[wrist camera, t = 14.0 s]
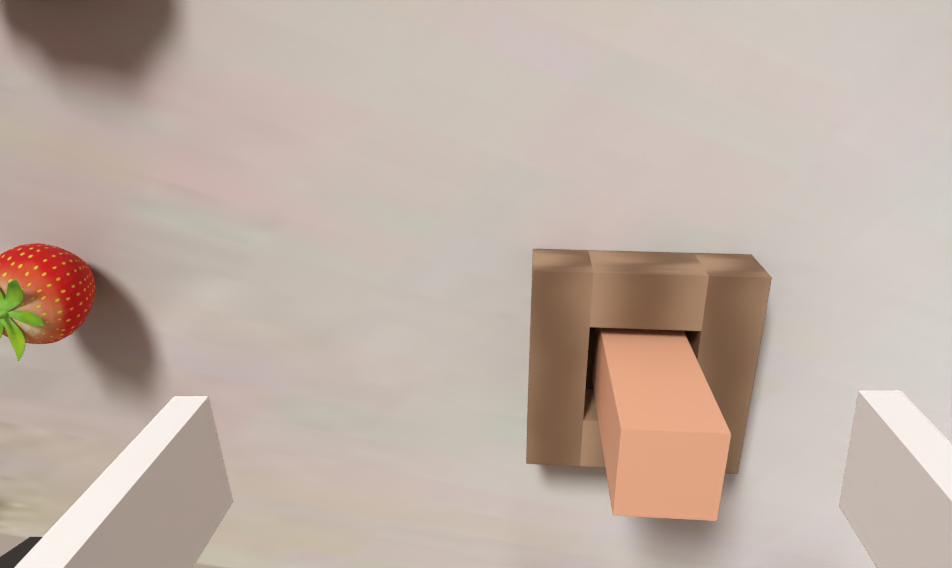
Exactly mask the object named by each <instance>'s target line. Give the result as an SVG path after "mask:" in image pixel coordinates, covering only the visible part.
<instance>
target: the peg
mask: <svg viewBox="0 0 952 568" xmlns="http://www.w3.org/2000/svg"><path fill="white" fill-rule="evenodd" d="M592 383H593V389H594V395H595V402H596V408H597V415H598V421H599V428H600V434H601V441H602V447H603V454H604V460H605V467H606V473H607V480H608V486H609V493H610V499H611V506H612V512H613V515H616V516H635V517H653V518H671V519H690V520H708V521H717V517H718V511H719V505H720V499H721V493H722V487H723V481H724V475H725V469H726V463H727V457H728V451H729V445H730V439H731V433H730V430H729V428H728V426H727V424H726V422H725V420H724V417H723V415H722V413H721V411H720V409H719V407H718V404H717V402H716V400H715V398H714V396H713V394H712V391H711V389H710V387H709V385H708V383H707V381H706V378H705V376H704V374H703V372H702V370H701V368H700V365H699V363H698V361H697V359H696V357H695V355H694V352H693V350H692V348H691V346H690V344H689V342H688V339H687V337H686V335H685V333H684V331H683V330H657V329H628V328H598V327H596V332H595V346H594V359H593V373H592Z"/></svg>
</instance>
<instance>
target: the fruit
mask: <svg viewBox="0 0 952 568" xmlns="http://www.w3.org/2000/svg"><path fill="white" fill-rule="evenodd" d="M94 296H95V279H94V276H93V273H92V271H91V269H90V267H89V266H88V265H87V264H86V263H85V262H84V261H83V260H82V259H81V258H79V257H78V256H76V255H74V254H72V253H71V252H69V251H66V250H64V249H61V248H59V247H55V246H50V245H45V244H37V243H36V244H27V245H20V246H18V247H15V248H12V249H10V250H8V251H6V252H4V253H2V254H1V255H0V338H1V336H2V334H3V335H5V336H7V337H9V339H10V341H11V343H12V346H13V348H14V350H15V352H16V355H17V359H18V361H19V360H20V358H21V356H22V354H23V352H24V349H25V343H31V344H47V343H53V342H57V341H59V340H61V339H63V338H65V337H67V336H69V335H71V334H72V333H73V332H74V331H75V330H76V329H77V328H78V327H79V326H80V325H81V324H82V323H83V322H84V321H85V319H86V317H87V315H88V313H89V311H90V309H91V307H92V304H93V301H94Z"/></svg>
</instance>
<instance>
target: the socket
mask: <svg viewBox="0 0 952 568" xmlns="http://www.w3.org/2000/svg"><path fill="white" fill-rule="evenodd" d="M771 279H772V277H771V276H770V275H769V274H768V273H767V272H766V271H765V269H764V268H763V267H762V266H761V265H760V264H759V263H758V262H757V260H756V259H755V258H754V257H753V256H752V255H747V254H709V253H671V252H633V251H594V250H556V249H533V265H532V295H531V325H530V354H529V384H528V414H527V457H526V464H544V465H565V466H585V467H605V460H604V454H603V447H602V441H601V434H600V428H599V421H598V415H597V408H596V402H595V395H594V389H585V388H586V373H587V359H588V344H589V330H590V327H598V328H628V329H657V330H684V333H685V335H686V337H687V339H688V342H689V344H690V346H691V348H692V350H693V352H694V355H695V357H696V359H697V361H698V363H699V365H700V368H701V370H702V372H703V374H704V376H705V378H706V381H707V383H708V385H709V387H710V389H711V391H712V394H713V396H714V398H715V400H716V402H717V404H718V407H719V409H720V411H721V413H722V415H723V417H724V420H725V422H726V424H727V426H728V428H729V430H730V433H731V439H730V445H729V451H728V457H727V463H726V469H725V473H727V474H738V469H739V463H740V458H741V452H742V446H743V440H744V435H745V429H746V423H747V417H748V412H749V406H750V400H751V394H752V389H753V383H754V377H755V371H756V366H757V360H758V354H759V348H760V343H761V337H762V331H763V325H764V320H765V314H766V308H767V302H768V297H769V291H770V285H771ZM605 468H606V467H605Z"/></svg>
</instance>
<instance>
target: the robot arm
mask: <svg viewBox="0 0 952 568" xmlns="http://www.w3.org/2000/svg"><path fill="white" fill-rule="evenodd" d="M232 503H233V499H232V495H231V490H230V486H229V482H228V477H227V473H226V469H225V464H224V460H223V456H222V452H221V447H220V443H219V439H218V434H217V430H216V426H215V422H214V417H213V413H212V409H211V404H210V400H209V396H174V397H173V398H172V399H171V400H170V401H169V403H168V404H167V405H166V406H165V407H164V408H163V409H162V410H161V411H160V412H159V413H158V414H157V415H156V416H155V418H154V419H153V420H152V421H151V422H150V423H149V424H148V425H147V426H146V427H145V428H144V429H143V430H142V431H141V433H140V434H139V435H138V436H137V437H136V438H135V439H134V440H133V441H132V442H131V443H130V444H129V445H128V446H127V448H126V449H125V450H124V451H123V452H122V453H121V454H120V455H119V456H118V457H117V458H116V459H115V460H114V461H113V463H112V464H111V465H110V466H109V467H108V468H107V469H106V470H105V471H104V472H103V473H102V474H101V475H100V476H99V478H98V479H97V480H96V481H95V482H94V483H93V484H92V485H91V486H90V487H89V488H88V489H87V490H86V491H85V492H84V494H83V495H82V496H81V497H80V498H79V499H78V500H77V501H76V502H75V503H74V504H73V505H72V506H71V507H70V509H69V510H68V511H67V512H66V513H65V514H64V515H63V516H62V517H61V518H60V519H59V520H58V521H57V522H56V524H55V525H54V526H53V527H52V528H51V529H50V530H49V531H48V532H47V533H46V534H45V535H44V536H43V537H29V538H28V539H26V540H25V541H24V542H22V543H20V544H19V545H18V546H16V547H14V548H13V549H12V550H10V551H9V552H7V553H6V554H4V555H3V556H1V557H0V568H193V566H194V565H195V563H196V561H197V560H198V558H199V556H200V555H201V553H202V552H203V550H204V548H205V547H206V545H207V543H208V542H209V540H210V539H211V537H212V535H213V534H214V532H215V530H216V529H217V527H218V526H219V524H220V522H221V521H222V519H223V517H224V516H225V514H226V513H227V511H228V509H229V508H230V506H231V504H232ZM839 507H840V509H841V510H842V512H843V513H844V515H845V517H846V518H847V520H848V522H849V523H850V525H851V527H852V528H853V530H854V532H855V533H856V535H857V536H858V538H859V540H860V541H861V543H862V545H863V546H864V548H865V550H866V551H867V553H868V555H869V556H870V558H871V559H872V561H873V563H874V564H875V566H876V568H952V444H951V443H950V442H949V441H948V440H947V439H946V438H945V437H944V436H943V435H942V433H941V432H940V431H939V430H938V429H937V428H936V427H935V426H934V425H933V424H932V423H931V422H930V421H929V420H928V419H927V418H926V417H925V416H924V415H923V414H922V413H921V411H920V410H919V409H918V408H917V407H916V406H915V405H914V404H913V403H912V402H911V401H910V400H909V399H908V398H907V397H906V396H905V395H904V394H903V393H902V392H901V391H900V390H880V391H858V396H857V402H856V408H855V414H854V420H853V426H852V432H851V438H850V444H849V450H848V456H847V461H846V467H845V473H844V479H843V485H842V491H841V497H840V503H839Z"/></svg>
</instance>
